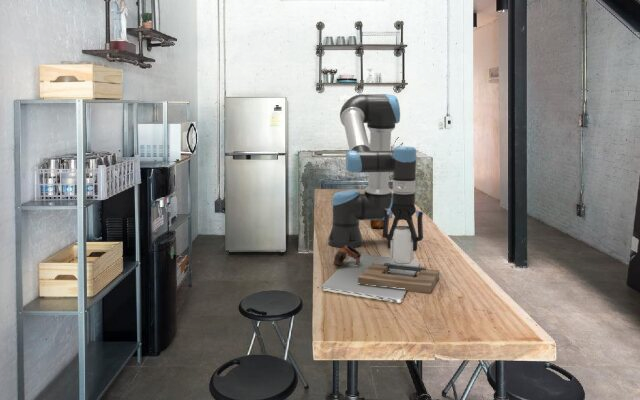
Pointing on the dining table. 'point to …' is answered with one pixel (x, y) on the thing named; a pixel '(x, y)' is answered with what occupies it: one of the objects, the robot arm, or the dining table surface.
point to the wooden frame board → (399, 279)
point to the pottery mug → (342, 253)
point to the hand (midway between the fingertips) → (402, 258)
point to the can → (402, 244)
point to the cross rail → (404, 267)
